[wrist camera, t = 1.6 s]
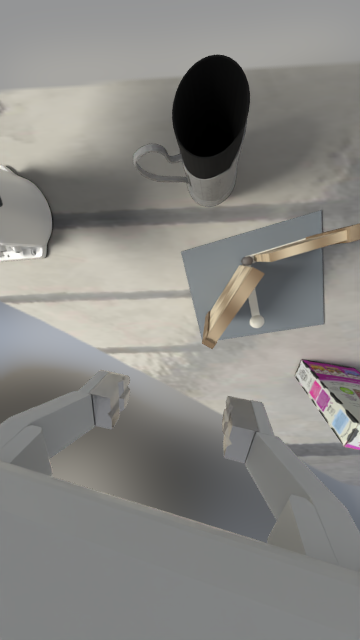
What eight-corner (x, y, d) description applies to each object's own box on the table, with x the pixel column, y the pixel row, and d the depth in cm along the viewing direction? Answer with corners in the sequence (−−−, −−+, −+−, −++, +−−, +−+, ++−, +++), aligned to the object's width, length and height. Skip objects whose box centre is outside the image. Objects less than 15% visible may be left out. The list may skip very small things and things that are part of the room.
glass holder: (239, 197, 31) (261, 147, 17) (165, 221, 34) (133, 194, 20) (233, 138, 28) (252, 20, 14) (154, 169, 32) (108, 99, 18)
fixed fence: (242, 266, 34) (254, 269, 24) (240, 257, 34) (251, 256, 24) (315, 245, 31) (364, 238, 21) (314, 234, 30) (364, 222, 20)
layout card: (202, 341, 41) (202, 342, 41) (181, 251, 36) (180, 251, 35) (322, 323, 35) (323, 324, 35) (320, 210, 29) (321, 210, 29)
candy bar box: (293, 376, 40) (342, 448, 25) (300, 358, 38) (357, 423, 23) (346, 386, 39) (433, 468, 23) (356, 367, 37) (456, 443, 22)
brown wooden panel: (238, 264, 34) (253, 266, 21) (246, 268, 34) (265, 274, 21) (205, 315, 38) (201, 343, 26) (212, 319, 38) (212, 349, 26)
